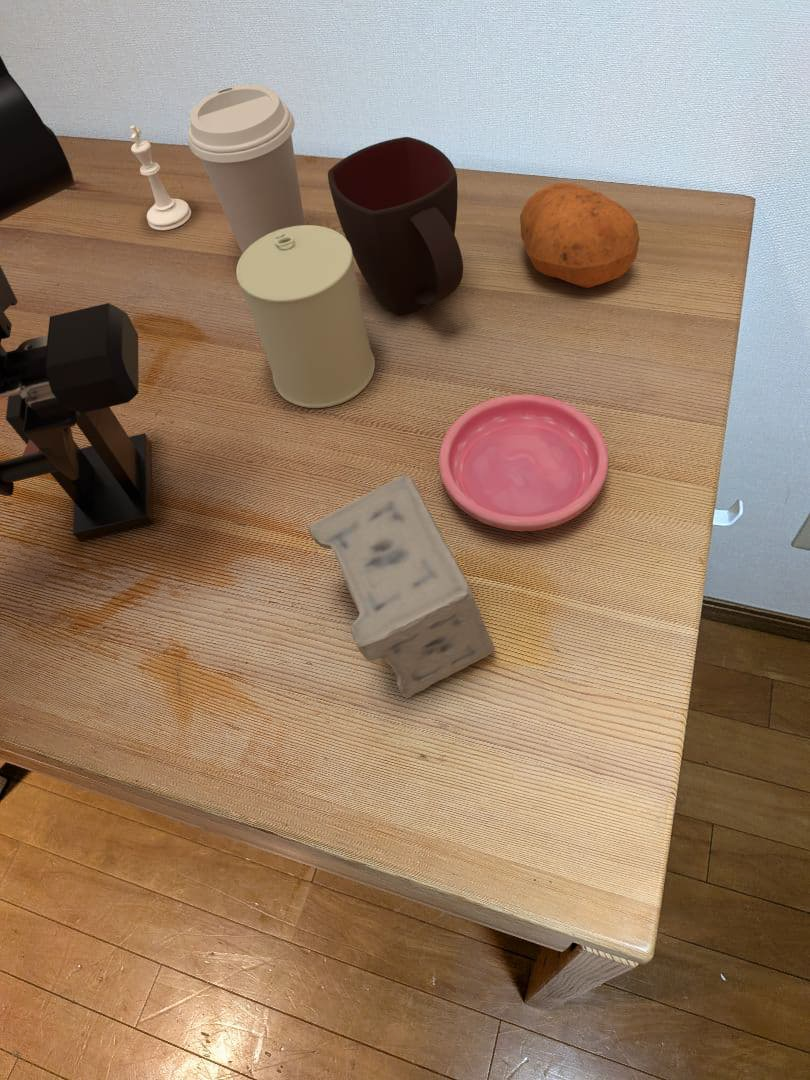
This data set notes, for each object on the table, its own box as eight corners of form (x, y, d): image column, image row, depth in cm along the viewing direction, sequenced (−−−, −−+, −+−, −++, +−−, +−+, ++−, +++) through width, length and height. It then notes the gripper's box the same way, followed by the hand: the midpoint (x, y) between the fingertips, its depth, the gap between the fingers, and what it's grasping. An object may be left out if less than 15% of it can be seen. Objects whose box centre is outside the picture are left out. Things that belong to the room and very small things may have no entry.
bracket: (153, 524, 59) (83, 424, 49) (79, 542, 59) (-6, 445, 49) (150, 441, 64) (86, 336, 54) (82, 458, 64) (6, 355, 54)
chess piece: (142, 231, 82) (101, 141, 74) (156, 204, 84) (118, 114, 76) (183, 230, 81) (147, 139, 73) (196, 203, 84) (162, 112, 75)
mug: (424, 246, 75) (411, 126, 65) (502, 320, 67) (502, 198, 57) (338, 287, 73) (311, 169, 63) (409, 367, 65) (392, 249, 55)
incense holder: (334, 593, 54) (300, 510, 45) (439, 550, 55) (426, 460, 46) (382, 712, 48) (355, 644, 40) (498, 662, 49) (496, 584, 41)
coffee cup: (327, 225, 78) (294, 74, 66) (320, 283, 73) (282, 132, 61) (240, 233, 79) (191, 86, 67) (226, 291, 74) (170, 143, 62)
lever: (69, 479, 47) (51, 448, 46) (7, 494, 47) (-13, 463, 46) (93, 404, 55) (79, 376, 54) (40, 417, 55) (24, 389, 53)
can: (352, 322, 70) (326, 205, 60) (391, 383, 65) (370, 266, 55) (261, 358, 68) (219, 244, 58) (293, 423, 63) (253, 311, 53)
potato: (554, 317, 67) (559, 244, 61) (500, 250, 73) (500, 177, 67) (645, 284, 68) (659, 209, 62) (584, 220, 74) (591, 146, 68)
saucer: (621, 438, 58) (626, 410, 56) (580, 566, 52) (584, 542, 50) (472, 406, 62) (470, 378, 59) (418, 522, 56) (413, 498, 54)
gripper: (75, 150, 40) (180, 367, 53) (-267, 228, 40) (-78, 428, 52) (64, 270, 34) (186, 484, 47) (-344, 364, 33) (-108, 554, 46)
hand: (44, 482), depth 48 cm, fingers closed on lever, 4 cm apart
